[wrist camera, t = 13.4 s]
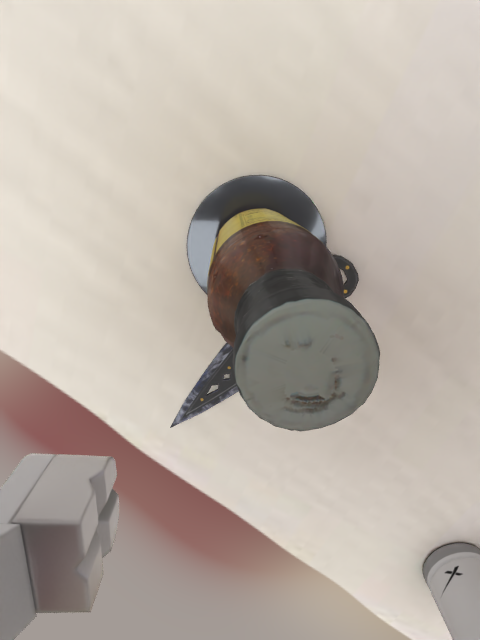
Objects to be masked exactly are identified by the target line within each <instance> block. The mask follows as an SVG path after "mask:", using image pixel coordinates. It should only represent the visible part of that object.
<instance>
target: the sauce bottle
mask: <svg viewBox="0 0 480 640" xmlns="http://www.w3.org/2000/svg"><path fill="white" fill-rule="evenodd" d="M207 292H208V294H207V296H208V308H209V312H210V316H211V319H212V322H213V325H214V327H215V329H216V330H217V331H218V332H220V333H221V335H222V336H223V338H224V340H225V341H226V342H227V343H228V344H229V345H231V346H232V347H233V361H232V362H233V369H234V376H235V381H236V385H237V387H238V390H239V393H240V395H241V397H242V398H243V399H244V401H245V402H246V404H247V406H248V407H249V408H250V409H251V410H252V411H253V412H254V413H255V414H256V415H257V416H258V417H259V418H261V419H263V420H265V421H267V422H269V423H270V424H272V425H274V426H276V427H280V428H284V429H288V430H297V431H307V430H313V429H318V428H322V427H325V426H328V425H331V424H334V423H336V422H338V421H340V420H342V419H344V418H346V417H347V416H349V415H351V414H352V413H353V412H354V411H355V410H356V409H357V408H358V407H360V406H361V405H363V404H364V403H365V401H366V400H367V398H368V397H369V395H370V394H371V392H372V390H373V388H374V385H375V383H376V380H377V378H378V370H379V357H380V351H379V346H378V343H377V341H376V338H375V335H374V333H373V332H372V330H371V328H370V326H369V324H368V323H367V322H366V321H365V319H364V318H363V317H362V316H361V314H360V313H359V312H358V311H357V310H356V309H355V307H354V306H353V305H352V304H351V303H350V302H349V301H347V300H346V299H345V298H344V285H343V280H342V275H341V272H340V270H339V267H338V265H337V262H336V260H335V259H334V257H333V255H332V254H331V252H330V251H329V250H328V249H327V247H326V246H325V245H324V244H323V243H322V242H321V241H320V240H319V239H318V238H317V237H315V236H314V235H313V234H312V233H311V232H309V231H308V230H306V229H305V228H303V227H301V226H300V225H298V224H296V223H295V222H293V221H291V220H290V219H288V218H287V217H285V216H283V215H281V214H280V213H278V212H275V211H272V210H269V209H252V210H247V211H244V212H241V213H239V214H237V215H236V216H234V217H232V218H231V219H230V220H229V221H228V222H226V223H225V225H224V226H223V227H222V228H221V230H220V231H219V234H218V236H217V238H216V239H215V242H214V246H213V250H212V255H211V261H210V267H209V272H208V280H207Z"/></svg>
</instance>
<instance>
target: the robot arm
mask: <svg viewBox="0 0 480 640" xmlns="http://www.w3.org/2000/svg"><path fill="white" fill-rule="evenodd" d="M116 476H117V472H116V463H115V460H114V459H113V457H106V456H105V457H104V456H85V455H63V454H58V455H55V454H29V455H27V456H25V457H24V458H23V459H22V460H21V461H20V463H19V464H18V465H17V467H16V468H15V469H14V471H13V472H12V473H11V475H10V476H9V477H8V479H7V480H6V481H5V483H4V484H3V485H2V487H1V488H0V640H14V639H15V638H16V637H17V636H18V635H19V634H20V633H21V631H23V630H24V628H26V626H28V624H29V623H30V622H31V621H32V620H33V619H34V618H35V617H36V613H59V612H60V613H61V612H91V609H92V606H93V603H94V600H95V597H96V594H97V591H98V588H99V585H100V582H101V580H102V576H103V564H102V558H103V557H104V556H106V555H107V554H108V553H109V552H110V551H111V549H112V546H113V543H114V540H115V536H116V531H117V525H118V518H119V496H118V494H117V493H116V492H115V491H114V490H113V489H112V487H113V484H114V482H115V479H116Z"/></svg>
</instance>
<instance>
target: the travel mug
mask: <svg viewBox="0 0 480 640" xmlns="http://www.w3.org/2000/svg"><path fill="white" fill-rule="evenodd" d="M423 575H424V578H425V580H426V583H427V585H428V587H429V589H430V591H431V593H432V595H433V598H434V600H435V602H436V604H437V606H438V608H439V611H440V613H441V615H442V617H443V619H444V621H445V624H446V626H447V628H448V630H449V632H450V634H451V636H452V639H453V640H480V549H479V548H477V547H475V546H473V545H470V544H465V543H455V544H450V545H446V546H443V547H441V548H439V549H437V550H436V551H434V552H433V553H432V554H431V555H430V556H429V557H428V558H427V560H426V562H425V563H424V567H423Z"/></svg>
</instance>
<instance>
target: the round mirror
mask: <svg viewBox="0 0 480 640" xmlns="http://www.w3.org/2000/svg"><path fill="white" fill-rule="evenodd" d="M252 209H269V210H272V211H275V212H278V213H280V214H281V215H283V216H285V217H287V218H288V219H290V220H291V221H293V222H295V223H296V224H298V225H300V226H301V227H303V228H305V229H306V230H308V231H309V232H311V233H312V234H313V235H314V236H315V237H317V238H318V239H319V240H320V241H321V242H322V243H323V244H324V245H325V246H326V243H327V242H326V232H325V227H324V223H323V221H322V218H321V215H320V213H319V211H318V210H317V208H316V206H315V205H314V203H313V202H312V201H311V199H310V198H309V197H308V196H307V195H306V194H305V193H304V192H303V191H301V190H300V189H299V188H298V187H296V186H294V185H293V184H291V183H289V182H287V181H285V180H282V179H280V178H276V177H272V176H266V175H249V176H243V177H239V178H236V179H233V180H230V181H228V182H226V183H224V184H222V185H221V186H219V187H218V188H216V189H215V190H214V191H213V192H211V193H210V194H209V195H208V196H207V197H206V198H205V199H204V201H203V202H202V203H201V204H200V206H199V207H198V209H197V210H196V212H195V214H194V216H193V218H192V221H191V224H190V227H189V231H188V237H187V256H188V260H189V265H190V268H191V271H192V273H193V275H194V277H195V279H196V281H197V283H198V284H199V286H200V287H201V288H202V290H203V291H204V292H205V293H206V294H208V292H207V280H208V272H209V267H210V261H211V255H212V250H213V246H214V242H215V239H216V238H217V236H218V234H219V231H220V230H221V228H222V227H223V226H224V225H225V223H226V222H228V221H229V220H230V219H231V218H232V217H234V216H236V215H237V214H239V213H241V212H244V211H247V210H252Z"/></svg>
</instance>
